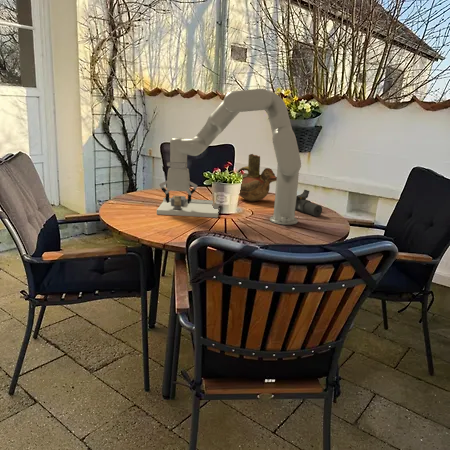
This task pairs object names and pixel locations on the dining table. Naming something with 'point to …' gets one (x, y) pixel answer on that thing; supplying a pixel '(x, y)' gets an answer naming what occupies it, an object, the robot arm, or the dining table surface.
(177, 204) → the tan cylinder
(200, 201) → the wall panel
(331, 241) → the dining table surface
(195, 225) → the dining table surface
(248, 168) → the ceramic vessel
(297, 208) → the laser sight
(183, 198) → the block
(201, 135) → the robot arm
